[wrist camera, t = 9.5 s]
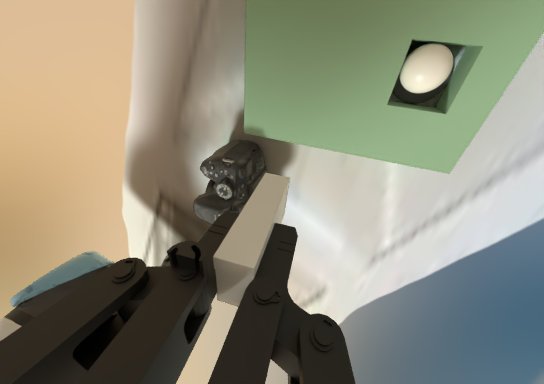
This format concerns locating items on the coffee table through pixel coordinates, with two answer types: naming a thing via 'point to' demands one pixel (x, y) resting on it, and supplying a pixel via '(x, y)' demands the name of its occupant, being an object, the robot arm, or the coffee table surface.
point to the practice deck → (380, 73)
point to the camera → (230, 179)
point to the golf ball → (426, 68)
